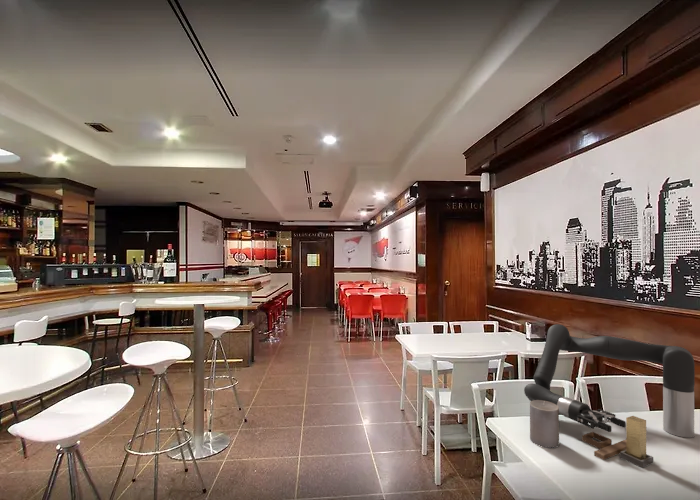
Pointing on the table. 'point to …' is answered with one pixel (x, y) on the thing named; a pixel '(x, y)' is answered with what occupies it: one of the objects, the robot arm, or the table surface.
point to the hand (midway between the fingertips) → (618, 426)
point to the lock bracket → (613, 449)
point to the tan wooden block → (636, 437)
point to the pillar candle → (544, 423)
